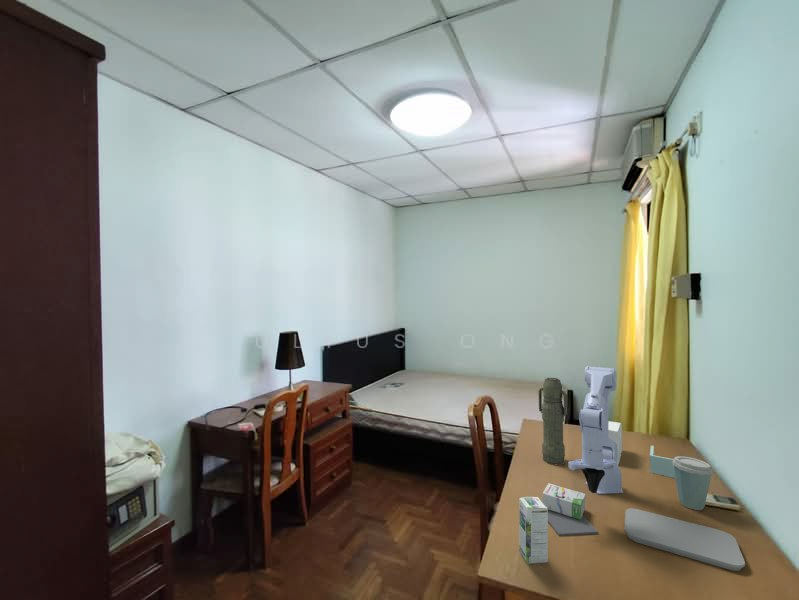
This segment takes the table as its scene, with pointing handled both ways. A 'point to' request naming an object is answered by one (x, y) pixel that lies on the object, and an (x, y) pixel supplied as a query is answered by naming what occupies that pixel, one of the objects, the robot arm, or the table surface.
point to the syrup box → (533, 530)
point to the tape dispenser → (616, 436)
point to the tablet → (684, 539)
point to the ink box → (564, 501)
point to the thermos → (553, 420)
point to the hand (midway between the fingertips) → (592, 491)
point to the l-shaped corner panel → (661, 465)
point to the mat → (569, 524)
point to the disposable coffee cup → (692, 481)
